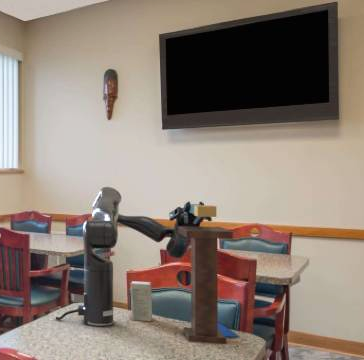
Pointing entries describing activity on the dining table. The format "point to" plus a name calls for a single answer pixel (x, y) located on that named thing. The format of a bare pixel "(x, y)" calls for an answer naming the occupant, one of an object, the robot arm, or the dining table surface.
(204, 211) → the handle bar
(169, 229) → the robot arm
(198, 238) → the shelf stand
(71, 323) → the dining table surface
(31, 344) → the dining table surface
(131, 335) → the dining table surface
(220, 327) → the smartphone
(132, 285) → the cosmetic box
